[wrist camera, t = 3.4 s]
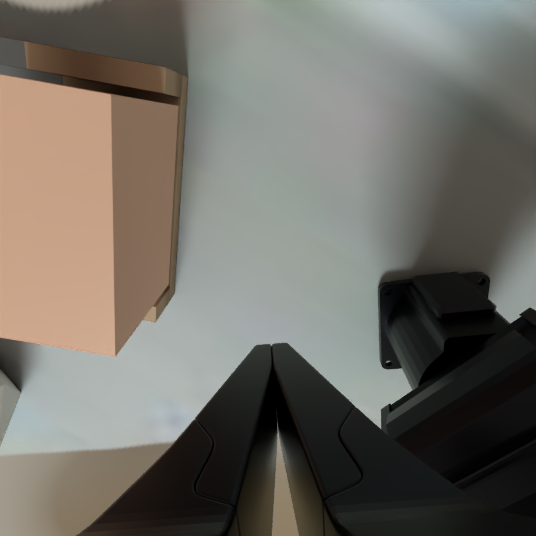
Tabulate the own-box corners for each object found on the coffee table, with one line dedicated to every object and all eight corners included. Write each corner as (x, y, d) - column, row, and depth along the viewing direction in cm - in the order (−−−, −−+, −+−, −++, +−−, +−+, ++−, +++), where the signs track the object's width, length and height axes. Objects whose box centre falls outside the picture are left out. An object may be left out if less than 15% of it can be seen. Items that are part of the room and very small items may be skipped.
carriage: (178, 105, 17) (110, 94, 10) (168, 284, 21) (115, 356, 14) (57, 84, 17) (-87, 58, 10) (70, 267, 21) (-27, 332, 14)
